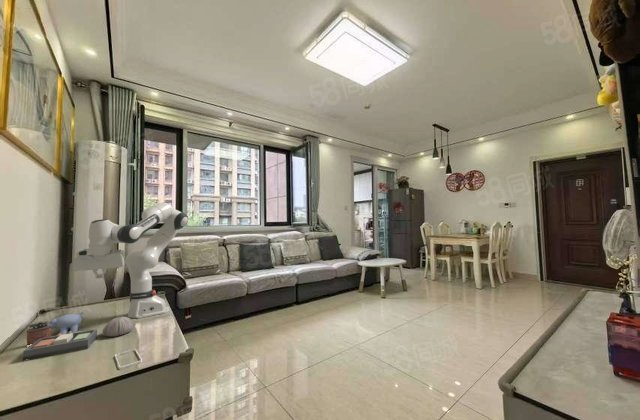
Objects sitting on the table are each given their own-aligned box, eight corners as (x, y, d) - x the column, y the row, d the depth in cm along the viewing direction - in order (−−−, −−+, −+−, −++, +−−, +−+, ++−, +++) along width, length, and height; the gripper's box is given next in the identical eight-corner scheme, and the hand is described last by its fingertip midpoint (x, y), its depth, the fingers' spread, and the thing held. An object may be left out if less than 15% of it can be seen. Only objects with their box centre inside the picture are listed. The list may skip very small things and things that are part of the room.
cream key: (73, 337, 125) (73, 333, 125) (67, 343, 119) (67, 338, 119) (60, 339, 123) (60, 335, 123) (53, 345, 117) (53, 340, 117)
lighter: (50, 339, 131) (50, 319, 131) (51, 341, 129) (51, 320, 129) (26, 345, 125) (26, 324, 125) (26, 347, 122) (27, 325, 123)
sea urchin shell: (117, 339, 129) (117, 322, 129) (94, 338, 131) (95, 321, 132) (140, 328, 142) (140, 313, 142) (120, 327, 144) (120, 312, 145)
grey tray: (97, 337, 132) (97, 328, 132) (87, 348, 119) (88, 338, 120) (39, 347, 122) (39, 337, 123) (23, 360, 110) (23, 350, 110)
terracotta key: (54, 342, 122) (54, 338, 122) (47, 349, 116) (47, 344, 116) (41, 345, 120) (41, 340, 120) (33, 351, 114) (33, 346, 114)
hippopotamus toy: (48, 332, 141) (48, 314, 142) (85, 325, 150) (85, 308, 151) (42, 338, 133) (43, 319, 133) (82, 330, 141) (82, 312, 142)
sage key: (90, 336, 128) (90, 332, 128) (85, 342, 122) (85, 337, 122) (78, 338, 126) (78, 334, 126) (72, 344, 120) (72, 339, 120)
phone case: (142, 363, 105) (135, 351, 116) (142, 360, 105) (135, 348, 116) (119, 371, 100) (114, 357, 111) (119, 367, 100) (114, 354, 111)
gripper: (126, 248, 143) (125, 274, 142) (76, 251, 134) (76, 279, 133) (123, 249, 137) (123, 276, 136) (71, 252, 128) (71, 281, 127)
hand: (99, 278), depth 135 cm, fingers closed
